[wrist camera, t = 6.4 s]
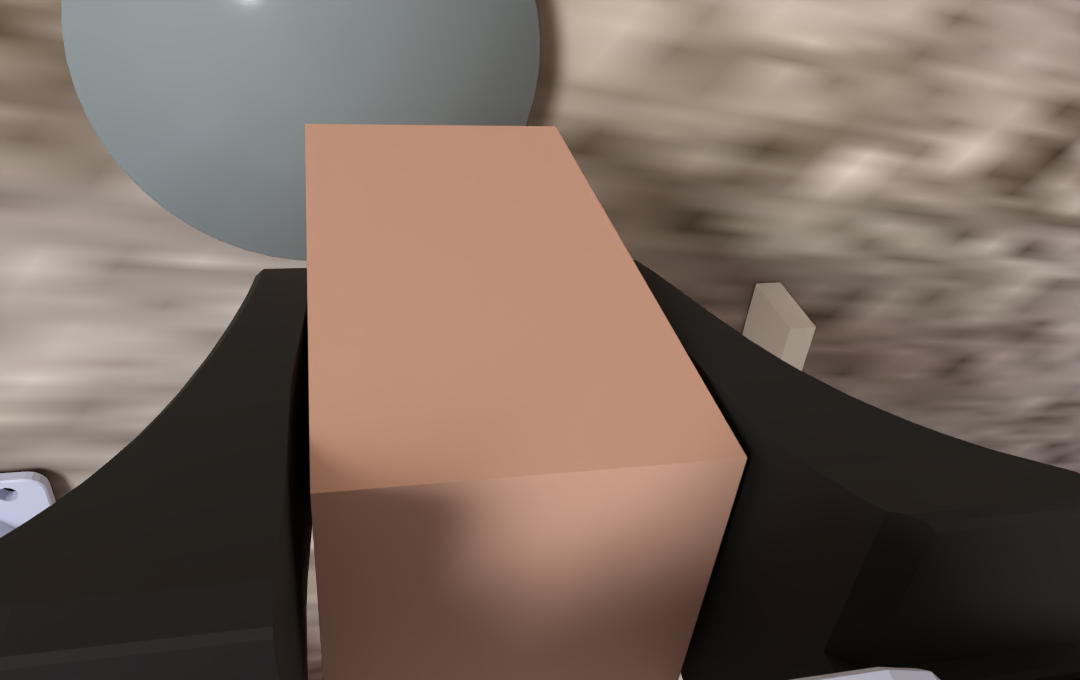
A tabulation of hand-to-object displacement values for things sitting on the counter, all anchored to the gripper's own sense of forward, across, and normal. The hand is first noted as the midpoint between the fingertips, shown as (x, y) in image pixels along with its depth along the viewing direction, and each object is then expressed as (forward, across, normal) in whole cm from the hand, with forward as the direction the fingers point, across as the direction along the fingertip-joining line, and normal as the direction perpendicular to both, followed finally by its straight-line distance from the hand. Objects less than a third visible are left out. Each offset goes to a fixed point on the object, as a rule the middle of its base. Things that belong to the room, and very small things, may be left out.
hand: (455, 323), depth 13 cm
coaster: (+10, +2, -1) cm, 10 cm away
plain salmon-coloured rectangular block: (+3, 0, 0) cm, 3 cm away
